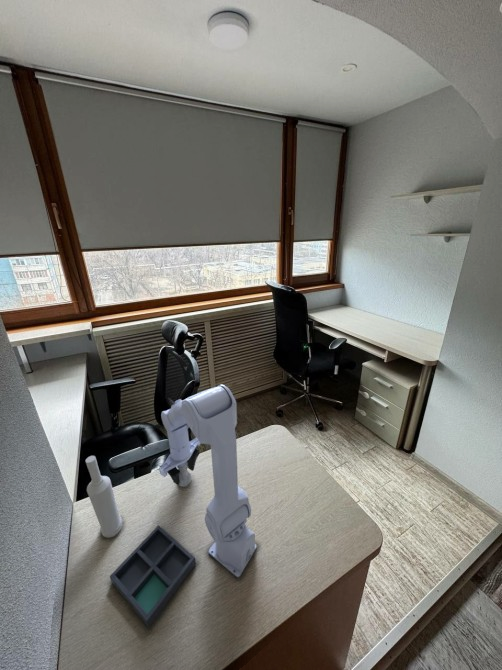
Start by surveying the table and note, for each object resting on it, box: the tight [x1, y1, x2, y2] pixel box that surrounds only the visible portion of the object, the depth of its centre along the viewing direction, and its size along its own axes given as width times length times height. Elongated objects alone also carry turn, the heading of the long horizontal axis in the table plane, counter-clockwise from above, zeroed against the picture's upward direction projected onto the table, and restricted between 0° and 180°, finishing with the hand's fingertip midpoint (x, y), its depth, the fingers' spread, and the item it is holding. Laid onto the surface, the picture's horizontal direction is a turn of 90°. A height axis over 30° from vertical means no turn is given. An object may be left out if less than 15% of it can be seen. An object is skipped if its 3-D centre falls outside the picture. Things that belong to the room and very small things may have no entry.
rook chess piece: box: [176, 461, 192, 487], centre depth 84 cm, size 4×4×8 cm
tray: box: [109, 525, 197, 629], centre depth 62 cm, size 13×13×3 cm
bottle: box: [85, 455, 123, 539], centre depth 68 cm, size 5×5×25 cm
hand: (183, 475), depth 85 cm, fingers open, 5 cm apart
